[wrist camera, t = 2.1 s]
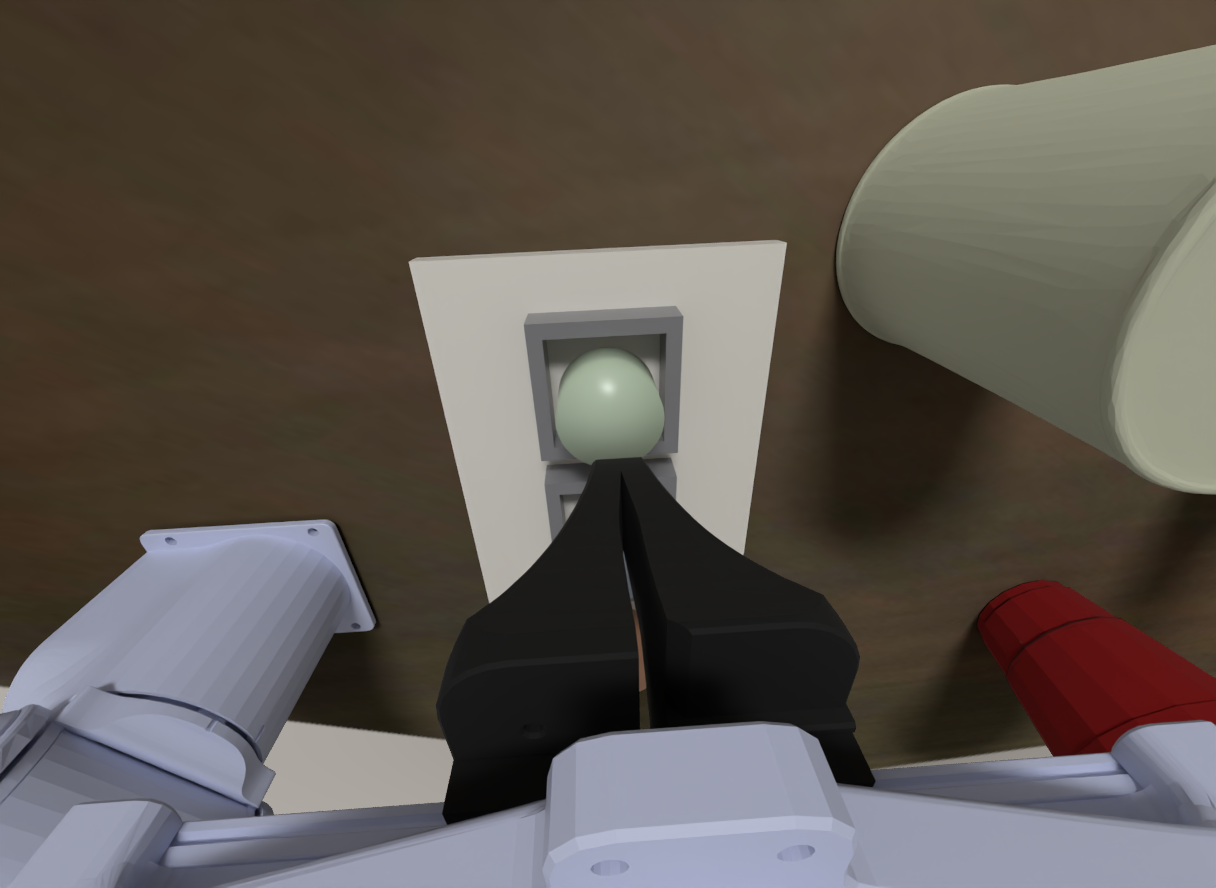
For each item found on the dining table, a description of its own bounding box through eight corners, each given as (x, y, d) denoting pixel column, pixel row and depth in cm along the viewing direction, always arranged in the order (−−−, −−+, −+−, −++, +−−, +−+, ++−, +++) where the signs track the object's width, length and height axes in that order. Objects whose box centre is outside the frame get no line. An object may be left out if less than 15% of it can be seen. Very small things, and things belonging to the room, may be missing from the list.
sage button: (562, 438, 19) (560, 470, 17) (554, 349, 17) (550, 373, 15) (654, 433, 19) (663, 464, 17) (655, 344, 18) (665, 367, 15)
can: (1082, 274, 20) (1647, 383, 9) (866, 380, 22) (1132, 570, 11) (1069, 22, 16) (2068, -293, 5) (804, 182, 17) (1134, 190, 7)
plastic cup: (964, 553, 27) (1199, 784, 17) (1144, 541, 28) (1484, 762, 17) (912, 670, 33) (1066, 899, 22) (1063, 659, 33) (1284, 880, 23)
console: (507, 657, 30) (501, 696, 28) (416, 257, 18) (393, 268, 16) (725, 642, 30) (736, 679, 28) (776, 239, 18) (804, 248, 16)
